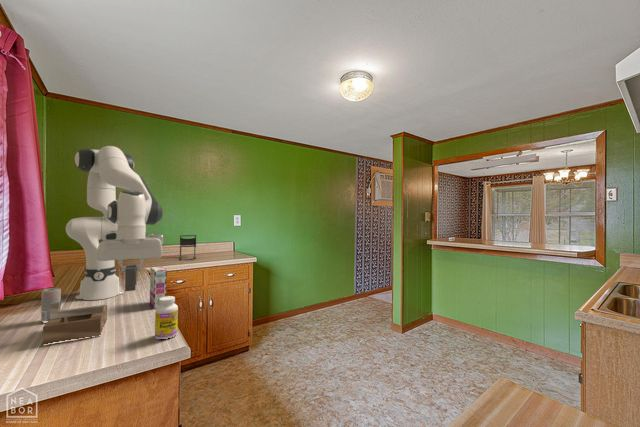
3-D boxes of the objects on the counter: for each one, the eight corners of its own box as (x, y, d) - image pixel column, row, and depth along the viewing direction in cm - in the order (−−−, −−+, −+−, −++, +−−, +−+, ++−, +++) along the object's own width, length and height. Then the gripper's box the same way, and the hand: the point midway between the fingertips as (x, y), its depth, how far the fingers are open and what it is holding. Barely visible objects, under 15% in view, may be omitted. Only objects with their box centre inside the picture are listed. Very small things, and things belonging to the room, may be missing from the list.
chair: (179, 260, 239) (179, 235, 239) (179, 257, 254) (180, 233, 254) (196, 259, 244) (196, 234, 244) (195, 257, 260) (195, 233, 260)
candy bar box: (166, 307, 123) (167, 269, 123) (153, 309, 119) (154, 271, 119) (161, 300, 131) (161, 265, 131) (149, 302, 128) (149, 267, 128)
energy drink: (59, 317, 109) (59, 286, 109) (61, 320, 106) (62, 289, 106) (40, 321, 105) (40, 289, 105) (42, 325, 102) (42, 292, 102)
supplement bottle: (156, 342, 89) (156, 302, 89) (153, 335, 94) (154, 297, 94) (179, 337, 93) (179, 298, 93) (175, 330, 98) (176, 294, 98)
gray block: (127, 284, 107) (127, 264, 107) (136, 283, 109) (136, 263, 109) (125, 291, 99) (125, 268, 99) (135, 290, 100) (135, 268, 100)
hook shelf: (57, 327, 99) (58, 297, 99) (106, 320, 107) (107, 291, 107) (42, 346, 86) (43, 310, 86) (100, 336, 93) (100, 303, 93)
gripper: (163, 232, 112) (162, 267, 112) (99, 234, 101) (98, 272, 101) (164, 234, 107) (163, 270, 107) (96, 235, 96) (95, 275, 96)
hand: (131, 271), depth 104 cm, fingers closed on gray block, 3 cm apart
